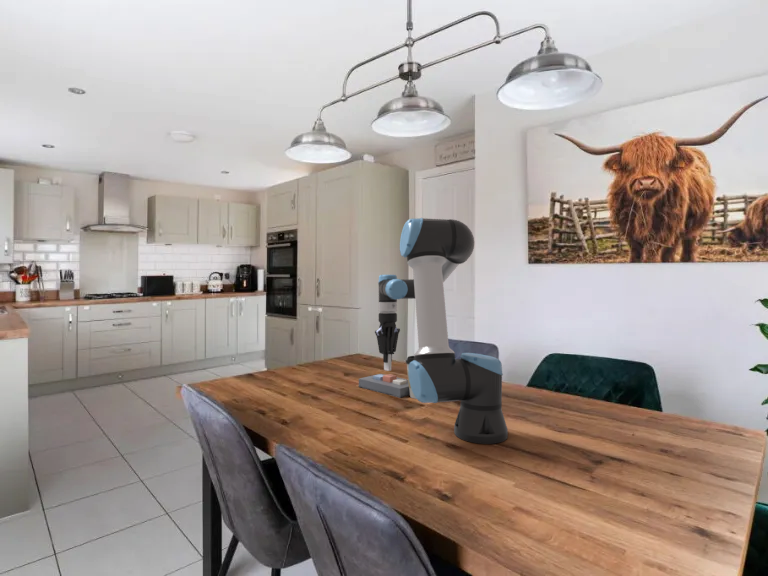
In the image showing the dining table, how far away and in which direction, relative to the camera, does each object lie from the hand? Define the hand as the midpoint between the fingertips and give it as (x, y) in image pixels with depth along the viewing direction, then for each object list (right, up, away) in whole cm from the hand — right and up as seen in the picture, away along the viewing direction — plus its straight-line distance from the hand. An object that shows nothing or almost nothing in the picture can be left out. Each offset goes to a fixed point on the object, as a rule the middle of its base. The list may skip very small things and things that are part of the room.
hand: (387, 370), depth 176 cm
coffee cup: (+12, -8, -11) cm, 18 cm away
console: (+1, -8, 0) cm, 8 cm away
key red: (+1, -5, 0) cm, 5 cm away
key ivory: (+5, -6, -4) cm, 9 cm away
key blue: (-3, -6, +4) cm, 7 cm away
